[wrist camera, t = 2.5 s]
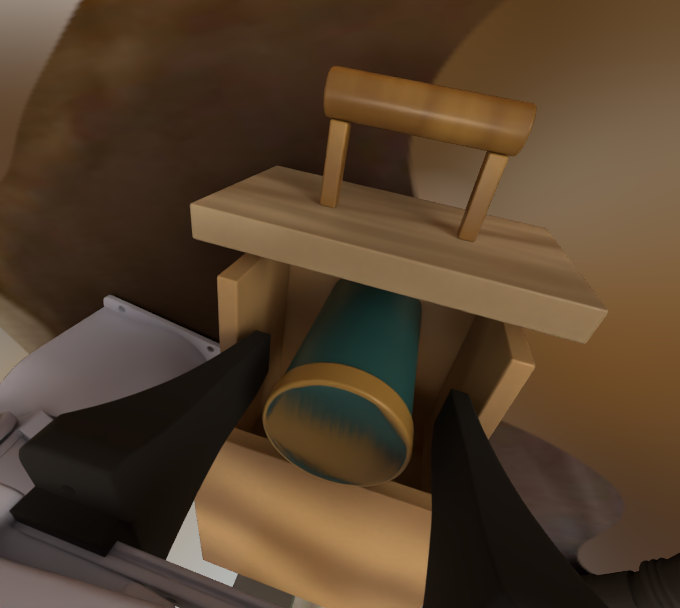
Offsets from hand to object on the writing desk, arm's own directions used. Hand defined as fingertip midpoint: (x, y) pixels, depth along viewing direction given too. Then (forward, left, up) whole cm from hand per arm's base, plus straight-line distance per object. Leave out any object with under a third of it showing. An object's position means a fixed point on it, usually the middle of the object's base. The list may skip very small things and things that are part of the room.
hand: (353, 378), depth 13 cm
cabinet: (+2, -12, -7) cm, 14 cm away
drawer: (0, +1, -6) cm, 6 cm away
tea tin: (0, 0, -5) cm, 5 cm away
